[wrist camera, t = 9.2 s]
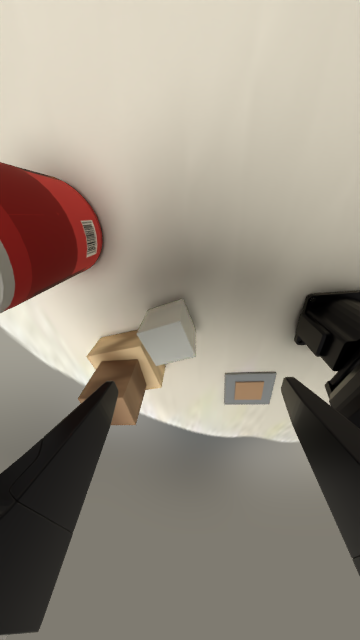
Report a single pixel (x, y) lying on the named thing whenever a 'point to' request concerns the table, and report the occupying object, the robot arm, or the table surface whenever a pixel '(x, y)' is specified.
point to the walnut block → (120, 388)
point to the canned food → (42, 234)
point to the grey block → (168, 333)
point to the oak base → (127, 356)
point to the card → (249, 387)
